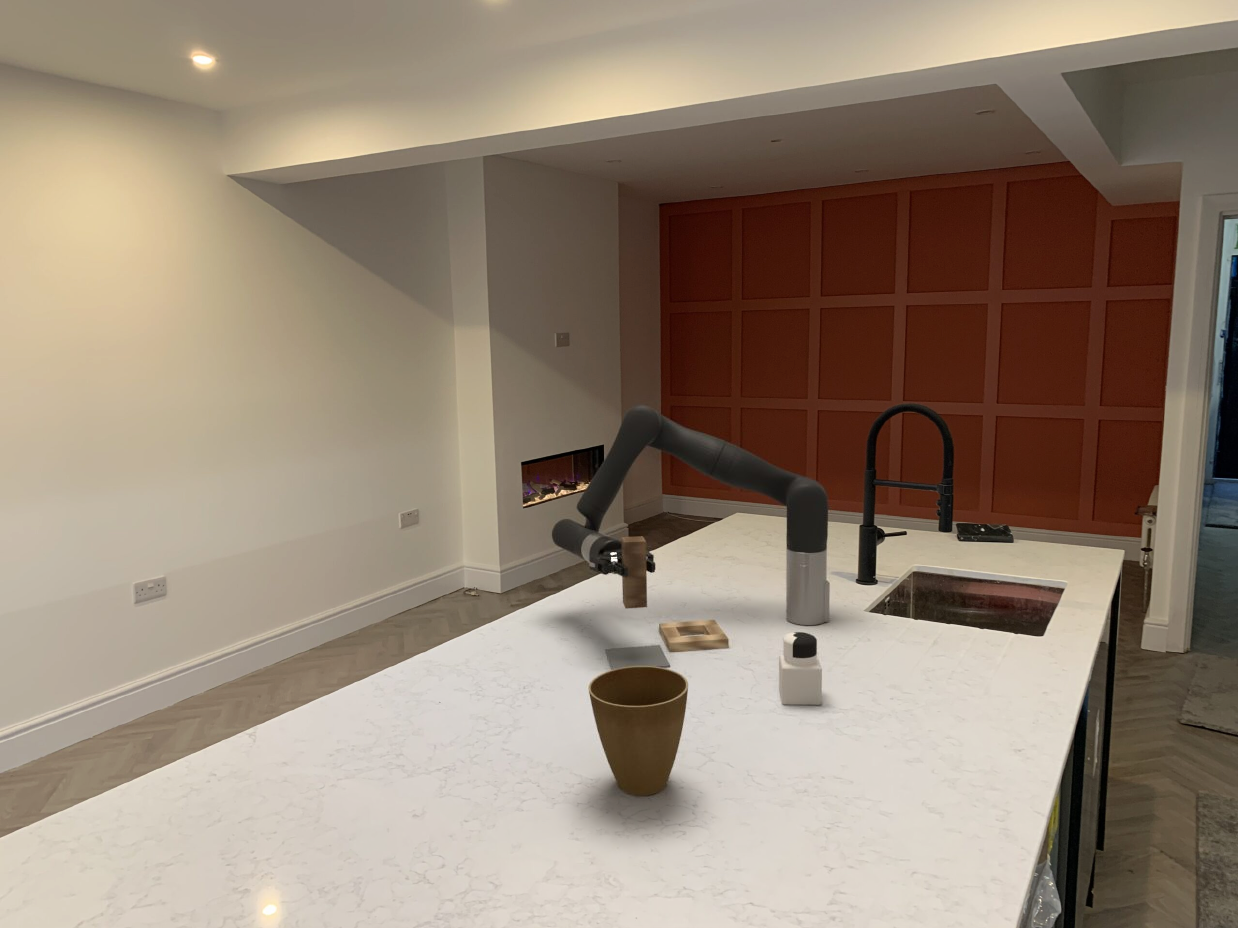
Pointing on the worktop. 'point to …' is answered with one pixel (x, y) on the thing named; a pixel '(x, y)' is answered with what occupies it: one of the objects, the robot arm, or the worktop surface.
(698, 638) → the oak socket
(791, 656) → the medicine bottle
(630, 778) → the plant pot
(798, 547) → the robot arm
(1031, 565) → the worktop surface
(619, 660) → the grey mat
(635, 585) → the walnut post
